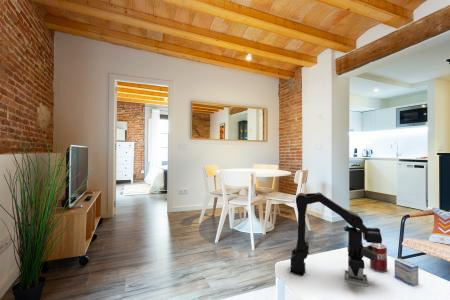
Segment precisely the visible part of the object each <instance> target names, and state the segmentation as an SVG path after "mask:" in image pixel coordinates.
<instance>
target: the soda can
mask: <svg viewBox="0 0 450 300" xmlns="http://www.w3.org/2000/svg"><path fill="white" fill-rule="evenodd" d="M369 244H370V246H372V247H373V251H375V252H376V253H377V257H376V259H375V261H372V260H371V259H369V266H370V268H371V269H372V270H374V271H375V272H378V273H379V272H380V273H385V272H387V271H388V249H387V246H386V245H384V244H382V243H381V244H377V243H369Z"/></svg>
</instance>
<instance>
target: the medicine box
mask: <svg viewBox="0 0 450 300" xmlns="http://www.w3.org/2000/svg"><path fill="white" fill-rule="evenodd" d="M394 278H395V279H396V280H399V281H401V282H403V283H405V284H407V285H408V286H412V287H414V286H417V285H419V282H420V281H419V265H418V264H414V263H411V262H410V261H408V260H405V259H403V258H397V259H394Z"/></svg>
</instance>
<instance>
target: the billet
mask: <svg viewBox="0 0 450 300" xmlns="http://www.w3.org/2000/svg"><path fill="white" fill-rule="evenodd" d="M347 265H348V264H347ZM347 267H348V268H347V271H348V277H349V278H353V279H358V280H362V281H363V274H364V269H361V268H359V271H358V275H357V276H354V274H353V271H352V269H351V267H350V266H349V265H348V266H347Z"/></svg>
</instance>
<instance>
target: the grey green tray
mask: <svg viewBox="0 0 450 300" xmlns="http://www.w3.org/2000/svg"><path fill="white" fill-rule="evenodd" d="M367 276H368V274H365V273H363V281H362V280H358V279H353V278H349V277H348V270H344V282H345V283H348V284H353V285H358V286H361V287H366V288H368V287H369V282H368V277H367Z"/></svg>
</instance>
